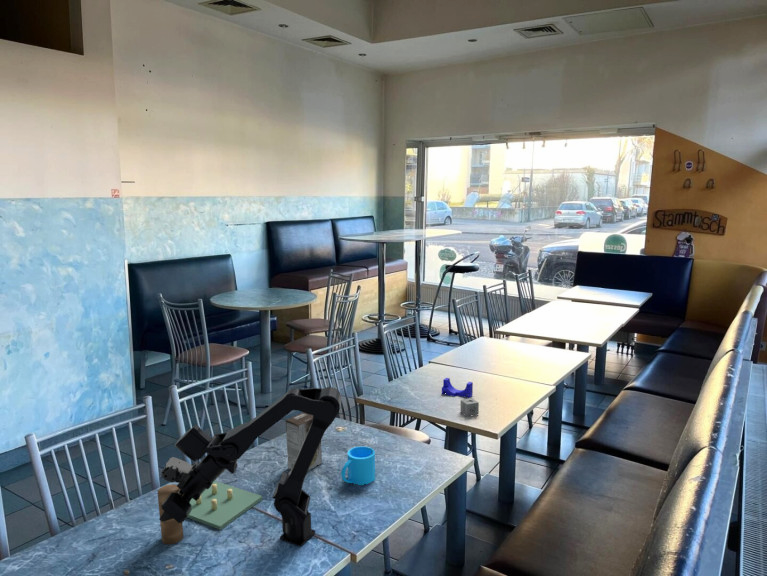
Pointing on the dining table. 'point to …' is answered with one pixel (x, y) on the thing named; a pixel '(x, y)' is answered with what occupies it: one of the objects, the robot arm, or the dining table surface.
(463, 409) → the dice cube
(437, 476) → the dining table surface
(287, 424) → the coffee box
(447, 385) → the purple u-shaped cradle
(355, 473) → the mug
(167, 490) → the walnut cylinder
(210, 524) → the standoff plate
